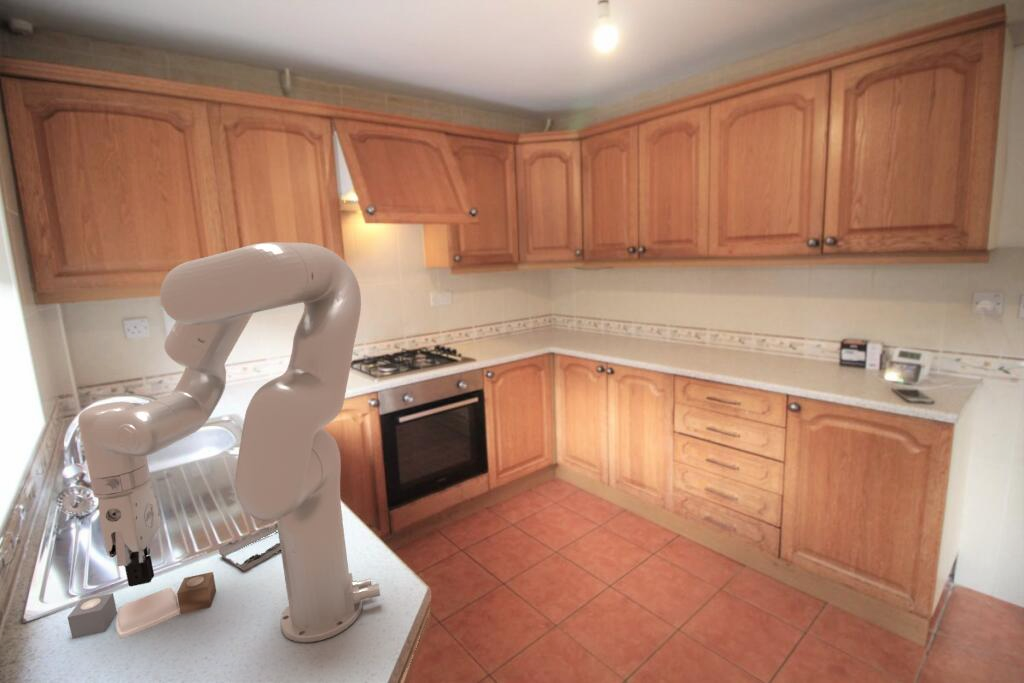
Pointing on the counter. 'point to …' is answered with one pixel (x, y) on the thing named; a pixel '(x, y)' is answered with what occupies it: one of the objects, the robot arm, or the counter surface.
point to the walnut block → (196, 592)
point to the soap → (146, 612)
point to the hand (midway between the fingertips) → (141, 581)
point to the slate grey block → (92, 615)
